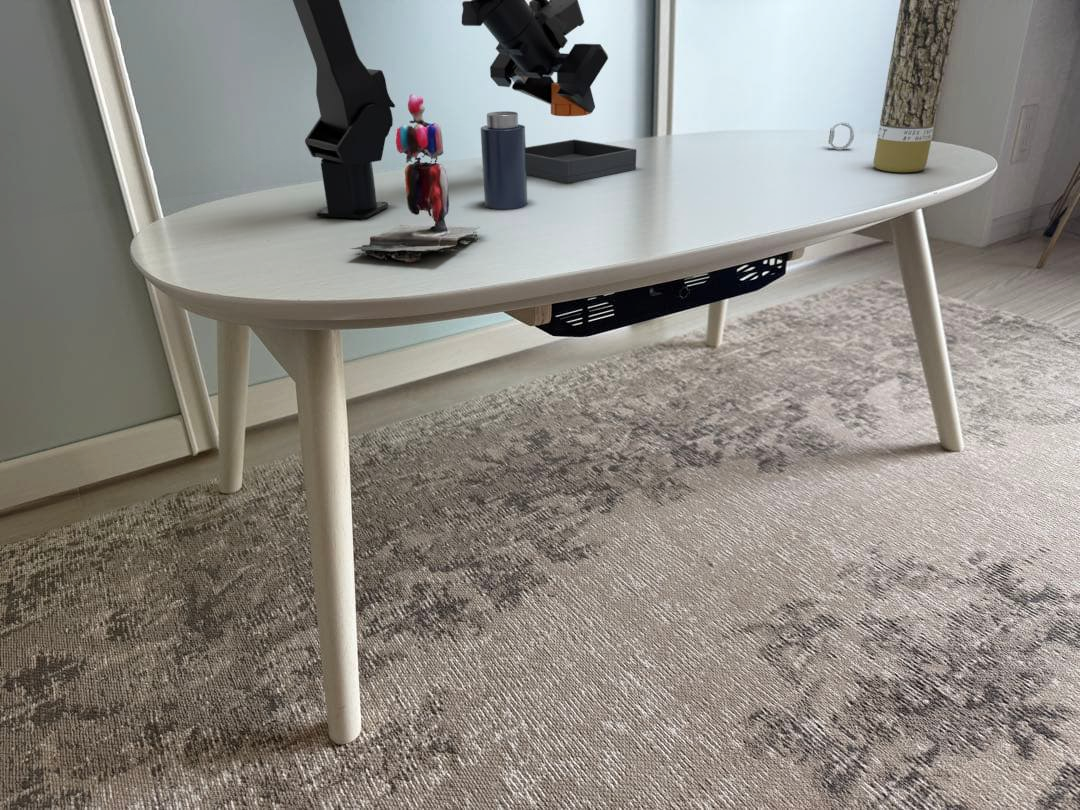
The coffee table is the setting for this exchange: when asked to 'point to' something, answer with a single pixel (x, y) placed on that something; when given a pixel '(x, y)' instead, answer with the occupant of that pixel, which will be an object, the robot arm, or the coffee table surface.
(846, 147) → the grey ring
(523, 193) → the spray can
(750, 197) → the coffee table surface
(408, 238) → the statue
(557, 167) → the tray
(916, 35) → the paper tube
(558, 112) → the spray can cap
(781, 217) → the coffee table surface
